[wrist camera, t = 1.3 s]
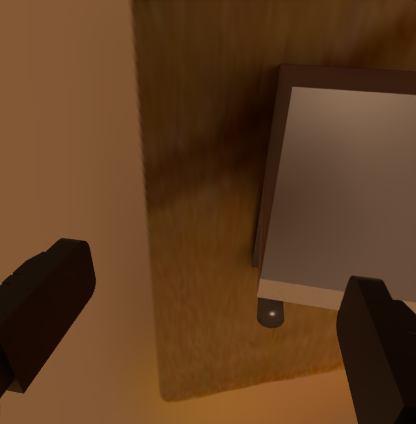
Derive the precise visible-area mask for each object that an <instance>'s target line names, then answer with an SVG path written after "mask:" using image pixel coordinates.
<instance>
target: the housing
mask: <svg viewBox="0 0 416 424" xmlns="http://www.w3.org/2000/svg"><path fill="white" fill-rule="evenodd" d="M352 275H354V276H362V277H370V278H378V279H382V280H383V281H384V283H385V285H386V287H387V289H388V291H389V293H390V295H391V297H392V299H395V300H402V301H408V302H415V303H416V72H413V71H396V70H379V69H362V68H345V67H328V66H311V65H294V64H280V70H279V77H278V84H277V91H276V98H275V105H274V112H273V119H272V126H271V133H270V140H269V147H268V154H267V161H266V168H265V190H264V213H263V235H262V257H261V279H265V280H271V281H278V282H284V283H291V284H297V285H304V286H310V287H317V288H324V289H330V290H337V291H343V292H345V289H346V286H347V283H348V280H349V278H350V277H351V276H352Z"/></svg>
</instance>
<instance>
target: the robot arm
mask: <svg viewBox="0 0 416 424" xmlns="http://www.w3.org/2000/svg"><path fill="white" fill-rule="evenodd" d="M95 285H96V277H95V272H94V267H93V262H92V257H91V252H90V247H89V244H88V243H87V242H86V241H82V240H74V239H66V238H61V239H59V240H58V241H57V242H56V243H55V244H54V245H53V246H51V247H50V248H49V249H48V250H47V251H46V252H42V253H40V254H38V255H36V256H34V257H32V258H30V259H29V260H27V261H25V262H24V263H23V264H22V265H21V266H20V267H19V268H18V269H16V270H15V271H14V272H13V275H10V276H9V277H8V278H6V279H5V280H4V281H3V282H2V285H0V398H1V396H2V395H3V394H4V393H5V391H6V390H9V391H13V392H18V393H24V392H25V391H26V390H27V388H28V387H29V385H30V384H31V382H32V381H33V380H34V378H35V377H36V375H37V374H38V372H39V371H40V370H41V368H42V367H43V365H44V364H45V362H46V361H47V360H48V358H49V357H50V355H51V354H52V352H53V351H54V350H55V348H56V347H57V345H58V344H59V342H60V341H61V340H62V338H63V337H64V335H65V334H66V332H67V331H68V329H69V328H70V327H71V325H72V324H73V322H74V321H75V319H76V318H77V317H78V315H79V314H80V312H81V311H82V310H83V308H84V307H85V305H86V304H87V302H88V301H89V299H90V298H91V297H92V295H93V292H94V289H95ZM336 329H337V336H338V341H339V345H340V349H341V353H342V358H343V362H344V366H345V370H346V375H347V379H348V382H349V387H350V391H351V396H352V400H353V404H354V408H355V412H356V416H357V421H358V424H416V314H415V313H414V312H413V311H412V310H411V309H410V308H409V307H408V306H407V305H406V304H405V303H404V302H403V301H402V300H394V299H392V297H391V295H390V293H389V291H388V289H387V287H386V285H385V283H384V281H383V280H382V279H378V278H370V277H362V276H354V275H352V276H351V277H350V278H349V280H348V283H347V286H346V289H345V293H344V296H343V299H342V302H341V305H340V308H339V311H338V315H337V322H336Z"/></svg>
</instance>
